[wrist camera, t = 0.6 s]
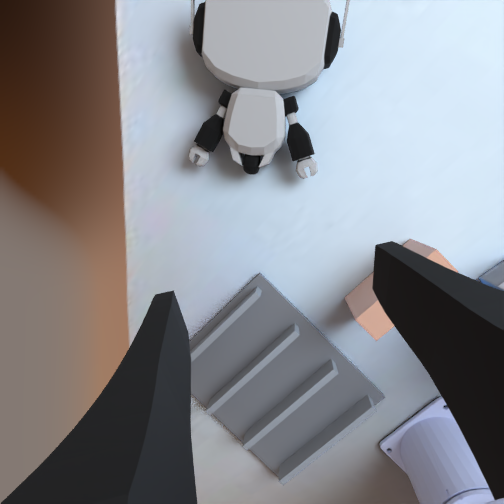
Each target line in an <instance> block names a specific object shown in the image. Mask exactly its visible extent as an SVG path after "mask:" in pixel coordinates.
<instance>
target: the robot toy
mask: <svg viewBox="0 0 504 504" xmlns="http://www.w3.org/2000/svg"><path fill="white" fill-rule="evenodd" d="M349 1H350V0H347V2H346V8H345V14H344V20H343V26H342V32H341V28H340V23H339V18H338V14H336V13H334V12H332V9H331V5H330V1H329V0H206V1H205V2H204V3H201V4H199V7H198V10H197V13H196V15H195V18H194V0H191V26H190V35H193V41H194V45H195V48H196V51H197V53H198V54H199V55H200V56H201V57H203V60H204V63H205V66H206V67H207V68H208V69H209V70H210V72H211V73H212V74H214V75H215V76H216V77H217V78H218V79H219V80H220V81H221V82H223V83H225V84H227V85H229V86H231V87H234V88H236V89H238V90H237V91H235V92H234V93H232V94H231V93H230V92H228V91H226V90H225V89H224V91H223V93H222V95H221V97H220V99H219V104H220V105H221V106H220V108H219V110H218V112H217V114H216V115H214V116H212V117H211V118H210V119H208V120H207V121H206V122H204V123H203V125H202V127H201V129H200V131H199V133H198V134H197V136H196V138H195V140H194V141H195V142H196V143H197V145H195V146H194V147H192V148H191V149H190V152H189V156H188V157H189V159H190V161H191V162H194V161H195V159H196V157H197V155H200V158H199V160H198V162H197V163H196V165H198V166H204V165H205V164H206V163H207V162H208V161H209V151H211V152H214V150H215V148H216V146H217V144H218V143H219V141H220V139H221V137H222V135H223V132H224V136H225V141H226V142H227V143H228V145H229V146H230V150H231V154H232V158H233V160H234V161H236V162H237V163H239V164H240V165H243V167H244V171H245V172H246V173H248V174H256V173H257V172H258V171H259V167H263V166H265V165H268V164H270V163H271V161H272V159H273V157H274V155H275V153H276V152H277V151H278V150H279V149H280V148H281V146H282V144H283V142H284V140H285V128H286V121H285V116H287V119H288V122H289V130H288V138H287V144H288V147H289V150H290V153H291V157H292V160H293V161H296V160H298V161H297V166H296V172H297V174H298V175H299V177H300V178H303V179H304V178H307V176H306V173H305V170H304V168H305V167H308V166H309V168H310V172H311V176H313V175H315V174H316V173H317V171H318V170H317V163H316V162H315V161H314V159H313V158H312V157H310V155H313V154H314V150H313V147H312V143H311V140H310V137H309V134H308V133H307V131H306V130H305V129H304V128H303V127H302V126H301V125H300V124H299V123H298V121H297V117H296V114H295V113H296V112H297V111H298V105H297V102H296V98H295V97H294V96H292V97H289V98H286V99H283V98H282V97H281V96H280V95H279V94H285V93H290V92H295V91H299V90H302V89H305V88H306V87H308V86H309V85H311V84H313V83H314V82H316V80H317V78H318V77H319V75H320V74H321V72H322V70H323V69H326V68H329V67H330V65H331V63H332V62H333V60H334V58H335V56H336V54H337V51H338V47H343V44H344V38H343V36H344V30H345V25H346V19H347V13H348V7H349ZM340 33H341V38H340ZM225 116H226V117H225ZM224 117H225V122H224ZM242 153H244V154H245V156H244V158H243V154H242ZM261 156H264V157H263V159H262V161H261V163H260V158H261Z"/></svg>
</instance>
